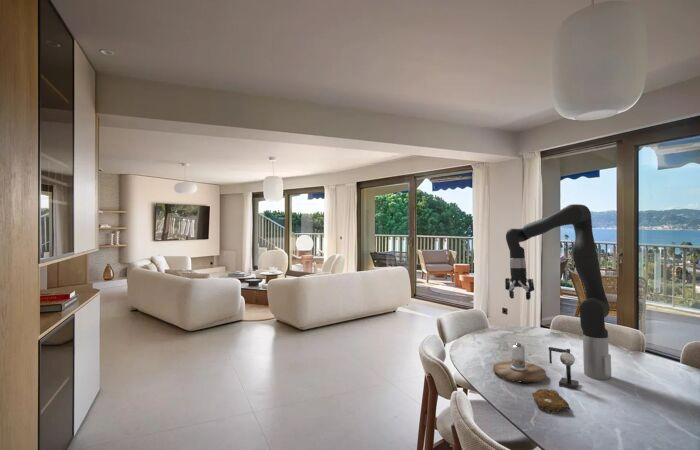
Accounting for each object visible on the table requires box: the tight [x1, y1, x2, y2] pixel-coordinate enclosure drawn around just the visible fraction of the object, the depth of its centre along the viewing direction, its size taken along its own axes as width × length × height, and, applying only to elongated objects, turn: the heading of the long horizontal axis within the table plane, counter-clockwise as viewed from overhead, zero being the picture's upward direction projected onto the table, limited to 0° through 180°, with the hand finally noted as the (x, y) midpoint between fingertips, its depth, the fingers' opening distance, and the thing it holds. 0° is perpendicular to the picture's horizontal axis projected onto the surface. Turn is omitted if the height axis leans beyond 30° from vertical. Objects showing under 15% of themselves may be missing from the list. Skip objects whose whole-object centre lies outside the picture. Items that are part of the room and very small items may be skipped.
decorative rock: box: [531, 388, 571, 415], centre depth 134 cm, size 11×4×15 cm
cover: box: [510, 342, 527, 372], centre depth 162 cm, size 7×7×11 cm
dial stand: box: [548, 346, 580, 390], centre depth 151 cm, size 10×6×14 cm, turn 49°
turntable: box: [492, 360, 547, 383], centre depth 161 cm, size 21×21×2 cm
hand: (520, 299), depth 188 cm, fingers open, 8 cm apart
